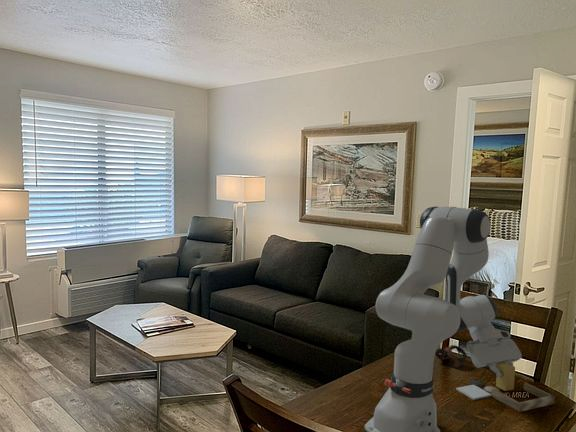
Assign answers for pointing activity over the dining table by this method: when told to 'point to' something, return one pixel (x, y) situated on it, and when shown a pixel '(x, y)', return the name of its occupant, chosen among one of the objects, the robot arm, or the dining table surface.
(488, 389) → the painted circle
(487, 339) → the robot arm
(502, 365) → the ochre block
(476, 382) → the hole disc
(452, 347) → the pottery mug
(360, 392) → the dining table surface
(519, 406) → the cubby
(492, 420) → the dining table surface
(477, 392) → the pad
